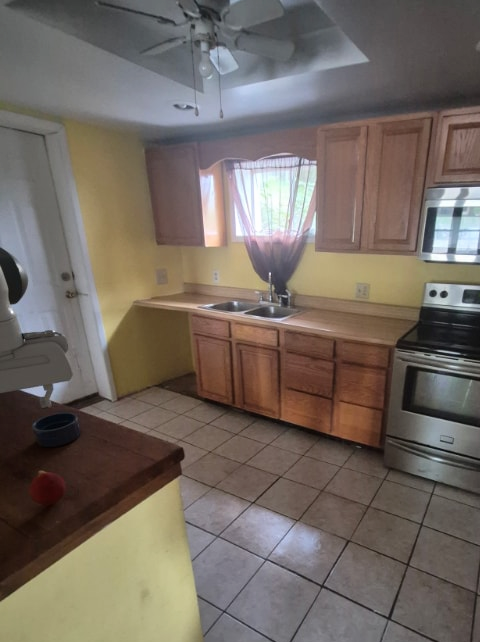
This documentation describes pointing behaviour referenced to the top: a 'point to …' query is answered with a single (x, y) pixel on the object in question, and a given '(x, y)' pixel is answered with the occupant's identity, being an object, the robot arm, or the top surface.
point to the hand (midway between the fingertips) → (15, 413)
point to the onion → (47, 488)
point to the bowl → (56, 429)
